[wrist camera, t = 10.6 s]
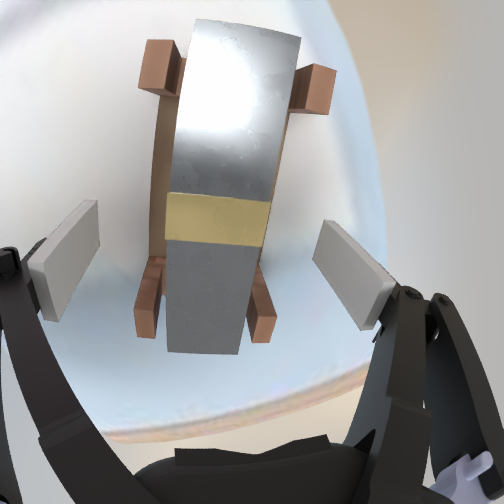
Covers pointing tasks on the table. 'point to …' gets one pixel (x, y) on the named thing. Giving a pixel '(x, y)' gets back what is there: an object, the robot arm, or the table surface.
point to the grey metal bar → (223, 179)
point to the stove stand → (169, 88)
